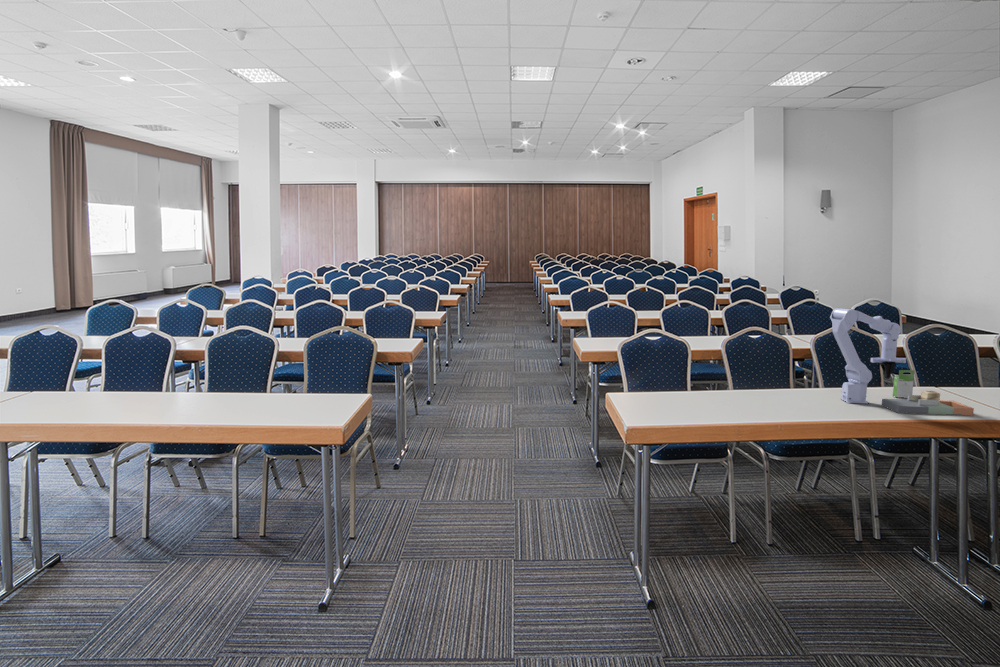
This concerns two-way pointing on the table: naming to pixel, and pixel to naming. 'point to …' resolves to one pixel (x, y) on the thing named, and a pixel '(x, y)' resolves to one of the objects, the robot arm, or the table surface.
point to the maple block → (930, 395)
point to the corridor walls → (922, 400)
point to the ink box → (903, 384)
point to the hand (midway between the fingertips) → (886, 378)
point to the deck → (927, 407)
